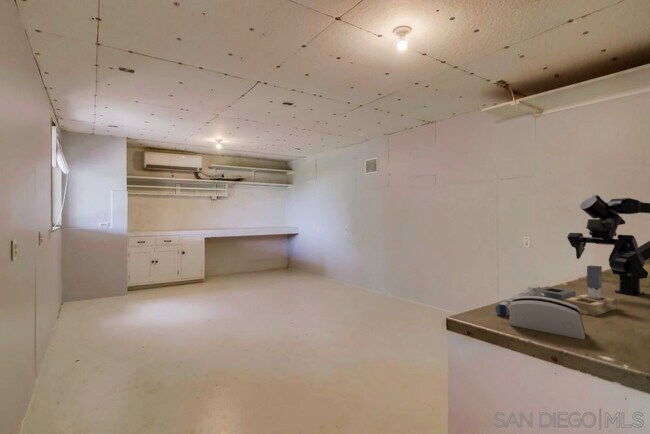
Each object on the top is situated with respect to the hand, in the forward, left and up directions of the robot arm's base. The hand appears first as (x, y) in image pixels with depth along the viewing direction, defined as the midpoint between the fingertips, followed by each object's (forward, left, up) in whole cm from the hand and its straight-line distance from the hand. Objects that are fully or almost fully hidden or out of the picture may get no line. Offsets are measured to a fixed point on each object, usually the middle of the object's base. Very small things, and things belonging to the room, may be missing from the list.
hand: (592, 259), depth 114 cm
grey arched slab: (+44, +8, -14) cm, 47 cm away
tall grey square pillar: (+10, +5, -14) cm, 18 cm away
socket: (+11, -7, -14) cm, 19 cm away
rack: (+14, +5, -14) cm, 20 cm away
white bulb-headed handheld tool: (+30, -7, -14) cm, 34 cm away
